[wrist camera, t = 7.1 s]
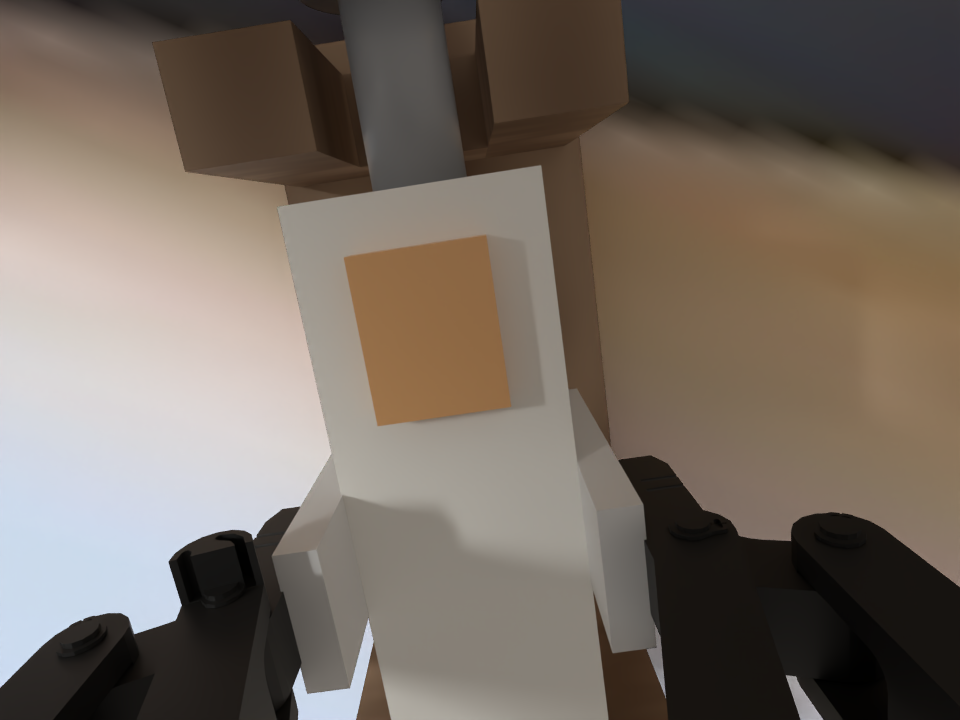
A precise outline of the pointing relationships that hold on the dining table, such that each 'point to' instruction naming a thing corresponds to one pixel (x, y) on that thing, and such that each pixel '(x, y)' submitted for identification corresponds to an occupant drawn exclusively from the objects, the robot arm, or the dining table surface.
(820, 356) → the dining table surface
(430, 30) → the white block with pegs
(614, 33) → the cradle rack
